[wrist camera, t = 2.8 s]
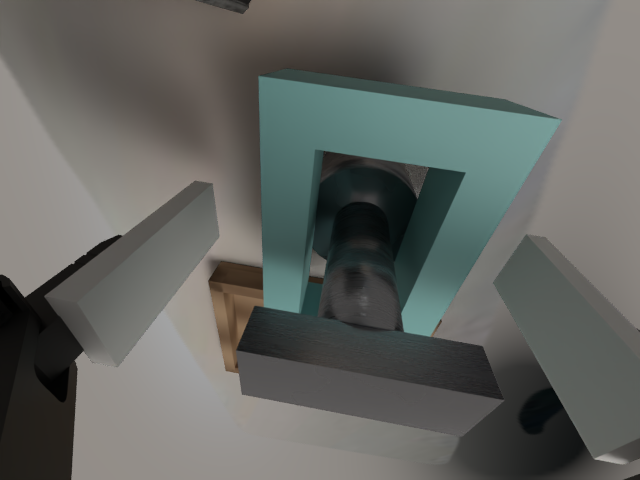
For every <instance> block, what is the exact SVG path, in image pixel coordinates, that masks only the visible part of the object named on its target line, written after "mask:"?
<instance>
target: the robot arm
mask: <svg viewBox="0 0 640 480" xmlns="http://www.w3.org/2000/svg"><path fill="white" fill-rule="evenodd" d="M218 238H219V228H218V221H217V213H216V206H215V198H214V191H213V184H212V183H206V182H200V181H194V182H193V183H191V184H190V185H189V186H188V187H186V188H185V189H184V190H182V191H181V192H180V193H178V194H177V195H176V196H175V197H173V198H172V199H171V200H169V201H168V202H167V203H165V204H164V205H163V206H161V207H160V208H159V209H158V210H156V211H155V212H154V213H152V214H151V215H150V216H148V217H147V218H146V219H144V220H143V221H142V222H141V223H139V224H138V225H137V226H135V227H134V228H133V229H131V230H130V231H129V232H127V233H126V234H125V235H124V236H122V235H117V236H115V237H113V238H110V239H108V240H106V241H103V242H101V243H99V244H98V245H97V246H95V247H94V248H93V249H91V250H90V251H89V252H87V254H86V255H83V256H81V257H80V258H79V259H77V260H76V261H75V263H74V264H71V265H69V266H68V267H66V268H65V269H64V270H62V271H61V272H60V273H58V274H57V275H55V276H54V277H53V278H51V279H50V280H48V281H47V282H46V283H44V284H43V285H42V286H40V287H39V288H37V289H36V290H35V291H34V292H32V293H31V294H29V295H28V296H27V297H25V298H24V296H23V295H22V294H21V293H20V291H19V290H18V289H17V288H16V286H15V285H14V284H13V283H12V281H11V280H10V279H9V278H7V277H6V276H4V275H0V480H71V474H72V456H73V437H74V421H75V402H76V385H77V366H76V362H75V361H74V360H75V359H76V358H77V357H78V356H79V355H80V354H81V353H82V352H83V351H84V352H85V354H86V355H87V356H88V358H89V359H90V360H91V362H93V363H98V364H103V365H108V366H114V367H118V366H119V365H120V364H121V363H122V361H123V360H124V359H125V357H126V356H127V355H128V354H129V352H130V351H131V350H132V348H133V347H134V346H135V344H136V343H137V342H138V341H139V339H140V338H141V337H142V335H143V334H144V333H145V332H146V330H147V329H148V328H149V326H150V325H151V324H152V323H153V321H154V320H155V319H156V317H157V316H158V315H159V313H160V312H161V311H162V310H163V308H164V307H165V306H166V305H167V303H168V302H169V301H170V299H171V298H172V297H173V296H174V294H175V293H176V292H177V290H178V289H179V288H180V287H181V285H182V284H183V283H184V281H185V280H186V279H187V278H188V276H189V275H190V274H191V272H192V271H193V270H194V269H195V267H196V266H197V265H198V263H199V262H200V261H201V260H202V258H203V257H204V256H205V254H206V253H207V252H208V251H209V249H210V248H211V247H212V245H213V244H214V243H215V242H216V240H217V239H218ZM493 284H494V285H495V287H496V289H497V291H498V292H499V294H500V296H501V298H502V299H503V301H504V303H505V305H506V306H507V308H508V309H509V311H510V313H511V315H512V317H513V318H514V320H515V322H516V324H517V326H518V327H519V329H520V331H521V332H522V334H523V336H524V338H525V340H526V341H527V343H528V345H529V347H530V348H531V350H532V352H533V353H534V355H535V357H536V359H537V361H538V362H539V364H540V366H541V367H542V369H543V371H544V373H545V374H546V376H547V378H548V380H549V381H550V383H551V385H552V387H553V388H554V390H555V392H556V394H557V395H558V397H559V399H560V401H561V402H562V404H563V406H564V408H565V409H566V411H567V413H568V415H569V416H570V418H571V420H572V422H573V423H574V425H575V427H576V429H577V430H578V432H579V434H580V436H581V437H582V439H583V441H584V442H585V444H586V446H587V448H588V450H589V451H590V453H591V455H592V457H593V458H594V459H597V460H602V461H607V462H612V463H618V464H623V465H624V464H627V463H629V462H632V461H634V460H637V459H639V458H640V330H638V329H637V328H635V327H634V326H633V325H632V324H631V323H630V322H629V321H628V320H627V319H626V318H625V317H624V316H623V314H621V312H619V310H617V308H615V306H613V304H611V302H609V300H608V299H606V297H604V296H603V294H601V292H600V291H599V290H598V289H597V288H596V287H594V285H593V284H592V283H591V282H589V280H587V278H586V277H585V276H584V275H583V274H582V273H580V272H579V270H578V269H577V268H576V267H575V266H574V265H573V264H572V263H571V262H570V261H569V260H567V258H565V256H564V255H563V254H562V253H561V252H560V251H559V250H558V249H557V248H556V247H555V246H554V245H553V244H552V243H551V242H550V241H549V240H548V239H547V238H545V237H540V236H534V235H528V234H526V235H525V237H524V238H523V240H522V241H521V243H520V244H519V246H518V247H517V249H516V250H515V251H514V253H513V254H512V256H511V257H510V259H509V260H508V262H507V263H506V264H505V266H504V267H503V269H502V270H501V272H500V273H499V275H498V276H497V278H496V279H495V280H494V282H493ZM624 480H640V474H638V475H635V476H633V477H630V478H627V479H624Z"/></svg>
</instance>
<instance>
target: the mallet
mask: <svg viewBox="0 0 640 480" xmlns="http://www.w3.org/2000/svg"><path fill="white" fill-rule="evenodd" d="M417 200H418V199H417V196H416V194H415V191H414V188H413V186H412V183H411V180H410V177H409V175H408V172H407V169H406V166H405V164H404V163H400V162H394V161H387V160H381V159H374V158H368V157H361V156H355V155H348V154H342V153H335V152H329V151H328V152H327V153H326V154H325V156H324V157H323V162H322V170H321V178H320V187H319V195H318V204H317V212H316V220H315V229H314V237H313V246H312V248H313V249H314V250H315V251H316V252H317V253H318V254H319V255H320V256H321V257H323V258H324V259H325V260H327V263H326V269H325V275H324V281H323V287H322V292H321V298H320V304H319V310H318V316H311V315H306V314H300V313H294V312H289V311H283V310H278V309H272V308H266V307H261V306H254V308H253V311H252V313H251V315H250V318H249V320H248V323H247V325H246V327H245V330H244V332H243V335H242V337H241V339H240V342H239V344H238V346H237V349H236V355H237V362H238V370H239V377H240V384H241V391H242V394H243V395H248V396H253V397H258V398H264V399H269V400H274V401H279V402H284V403H290V404H295V405H300V406H305V407H310V408H316V409H321V410H326V411H331V412H336V413H342V414H347V415H352V416H357V417H362V418H368V419H373V420H378V421H383V422H388V423H394V424H399V425H404V426H409V427H414V428H420V429H425V430H430V431H435V432H441V433H446V434H451V435H456V436H463V435H464V434H465V433H466V432H468V431H469V430H470V429H471V428H473V427H474V426H475V425H476V424H477V423H478V422H480V421H481V420H482V419H483V418H484V417H485V416H487V415H488V414H489V413H490V412H491V411H492V410H494V409H495V408H496V407H497V406H498V405H500V404H501V403H502V402H503V401H504V398H503V395H502V393H501V390H500V388H499V385H498V383H497V380H496V378H495V376H494V373H493V371H492V368H491V366H490V363H489V361H488V358H487V356H486V353H485V351H484V348H483V346H479V345H474V344H468V343H462V342H457V341H451V340H446V339H440V338H434V337H429V336H423V335H418V334H412V333H406V332H404V328H403V322H402V315H401V308H400V301H399V294H398V288H397V281H396V274H395V267H394V262H395V259H396V257H397V254H398V251H399V249H400V246H401V243H402V240H403V238H404V235H405V232H406V230H407V227H408V224H409V221H410V219H411V216H412V213H413V211H414V208H415V205H416V202H417Z"/></svg>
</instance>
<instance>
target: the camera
mask: <svg viewBox="0 0 640 480" xmlns="http://www.w3.org/2000/svg"><path fill="white" fill-rule="evenodd" d="M196 1H199V2H203V3H206V4H210V5H213V6H217V7H221V8H224V9H228V10H231V11H235V12H238V13H242V14H243V13H244V12H245V11H246V10H247V9H248V8H249V3H250V1H251V0H196Z"/></svg>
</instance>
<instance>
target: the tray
mask: <svg viewBox="0 0 640 480" xmlns="http://www.w3.org/2000/svg"><path fill="white" fill-rule="evenodd" d="M323 281H324V279H321V278H315V277H309V279H308V282H312V283H318V284H323ZM208 282H209V287H210V292H211V297H212V302H213V307H214V312H215V317H216V323H217V328H218V333H219V338H220V343H221V348H222V353H223V358H224V364H225V369H226V371H229V372H234V373H239V370H238V362H237V355H236V349H237V346H238V344H239V342H240V339H241V337H242V335H243V332H244V330H245V327H246V325H247V323H248V320H249V318H250V315H251V313H252V311H253V308H254V306H261V307H264V296H263V268H257V267H251V266H245V265H240V264H234V263H228V262H222V261H221V262H220V264H219V265H218V267H217V268H216V270H215V271H214V273H213V274H212V276H211V277H210V279H209V280H208ZM441 322H442V321H441V320H440V321H439V323H438V324H437V326H436V328H435V329H434V331H433V333H432V334H431V336H430V337H433V335H434V333H435V332H436V330H437V329H438V327H439V325H440V324H441Z"/></svg>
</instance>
